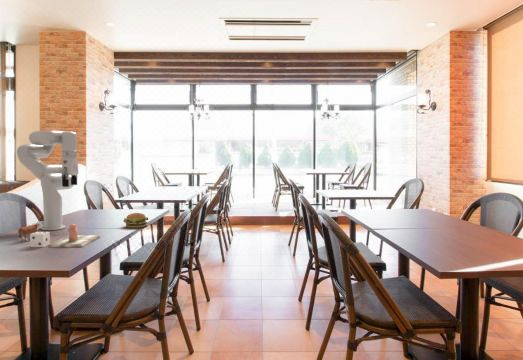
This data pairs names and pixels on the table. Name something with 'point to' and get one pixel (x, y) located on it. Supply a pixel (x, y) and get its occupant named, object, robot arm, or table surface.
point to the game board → (81, 241)
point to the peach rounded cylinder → (73, 233)
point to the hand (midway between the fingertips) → (69, 185)
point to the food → (135, 220)
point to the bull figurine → (28, 230)
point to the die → (39, 239)
